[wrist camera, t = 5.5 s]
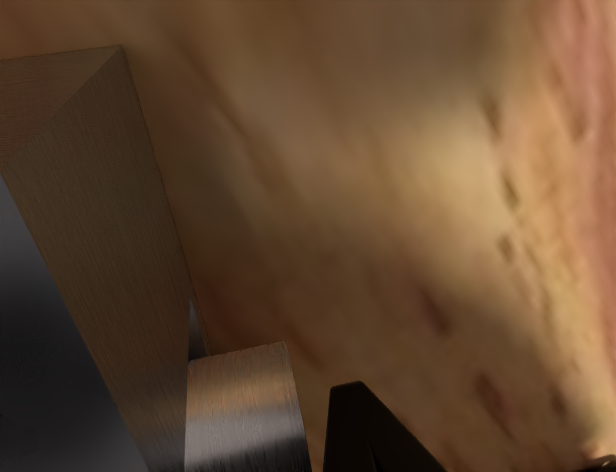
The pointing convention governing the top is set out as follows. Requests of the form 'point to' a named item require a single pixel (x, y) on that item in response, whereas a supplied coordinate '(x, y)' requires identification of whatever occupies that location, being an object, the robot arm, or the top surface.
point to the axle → (244, 413)
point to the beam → (88, 275)
